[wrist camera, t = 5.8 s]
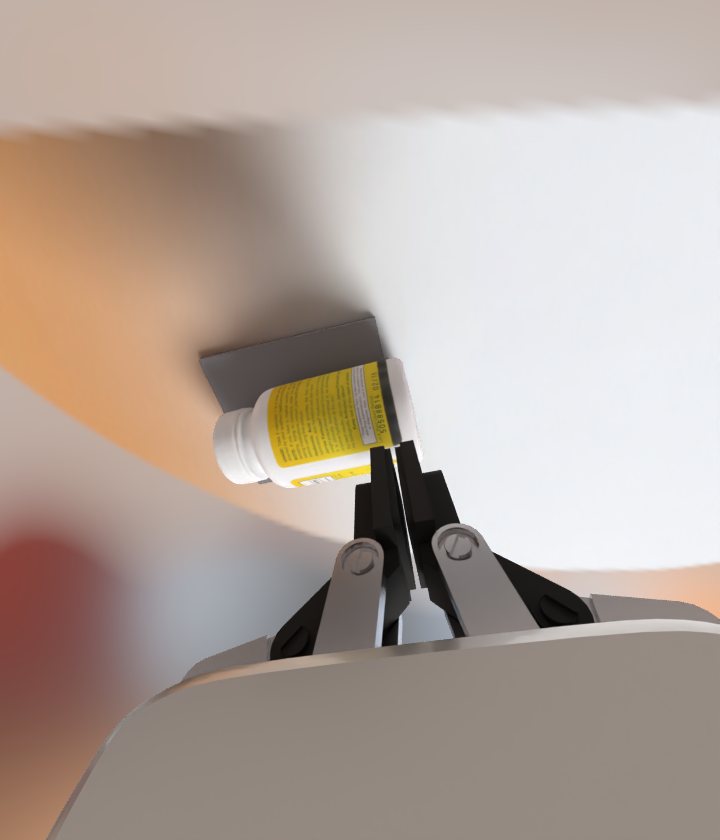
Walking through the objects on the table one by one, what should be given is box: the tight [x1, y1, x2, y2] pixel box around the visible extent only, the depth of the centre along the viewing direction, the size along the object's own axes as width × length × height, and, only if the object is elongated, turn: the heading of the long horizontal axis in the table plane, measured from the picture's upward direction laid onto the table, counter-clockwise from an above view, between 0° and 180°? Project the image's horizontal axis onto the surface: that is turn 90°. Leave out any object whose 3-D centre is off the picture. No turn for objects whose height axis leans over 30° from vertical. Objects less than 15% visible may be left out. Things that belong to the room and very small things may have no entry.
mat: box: [199, 317, 383, 484], centre depth 19 cm, size 10×9×1 cm
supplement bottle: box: [213, 358, 423, 488], centre depth 17 cm, size 5×5×10 cm
